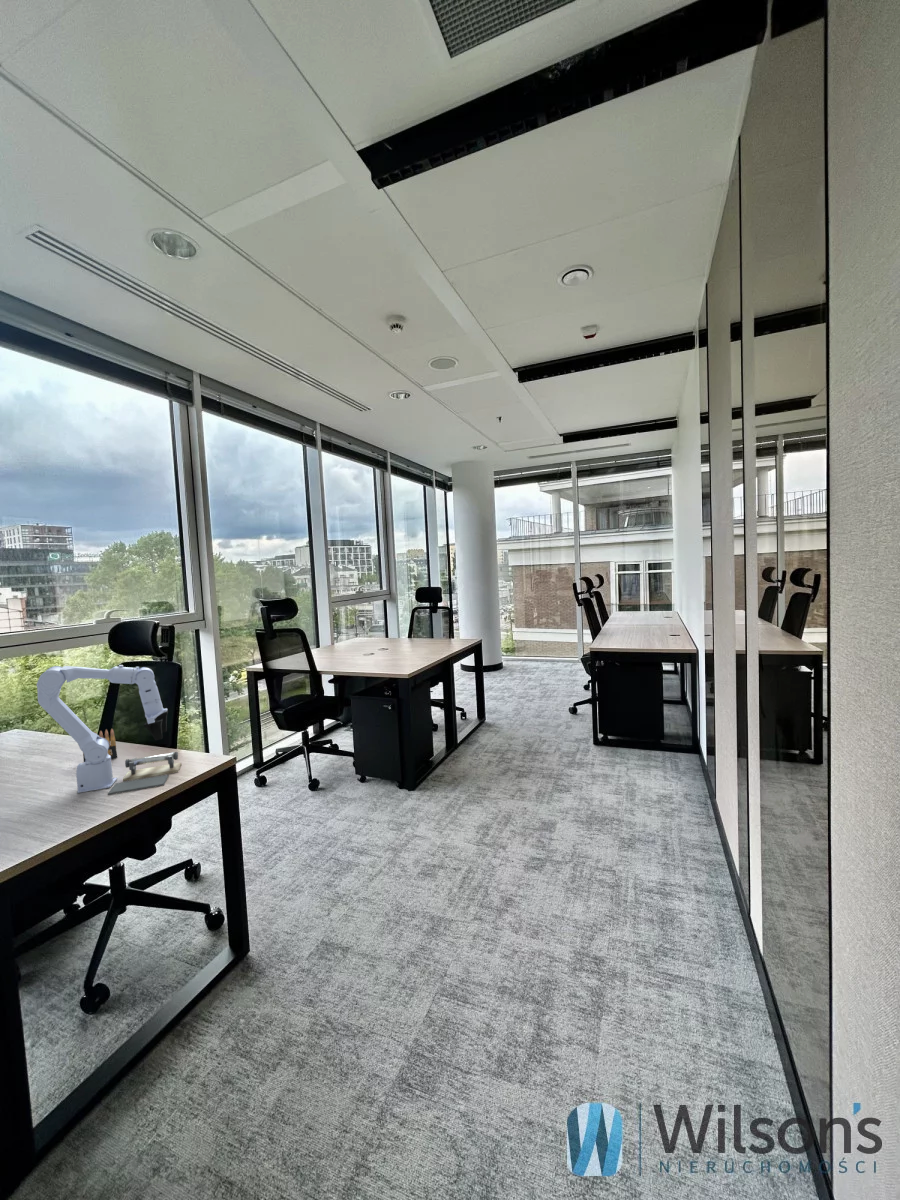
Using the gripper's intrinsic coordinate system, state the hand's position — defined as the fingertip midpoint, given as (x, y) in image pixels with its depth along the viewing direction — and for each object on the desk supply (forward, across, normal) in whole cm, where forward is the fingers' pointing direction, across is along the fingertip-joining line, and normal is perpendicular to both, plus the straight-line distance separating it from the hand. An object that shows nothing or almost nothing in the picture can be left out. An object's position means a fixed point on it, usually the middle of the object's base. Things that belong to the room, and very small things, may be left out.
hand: (161, 735), depth 172 cm
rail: (+9, 0, +5) cm, 10 cm away
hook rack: (+13, 0, +6) cm, 14 cm away
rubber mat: (+12, -10, +7) cm, 18 cm away
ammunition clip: (+10, +24, +28) cm, 38 cm away
